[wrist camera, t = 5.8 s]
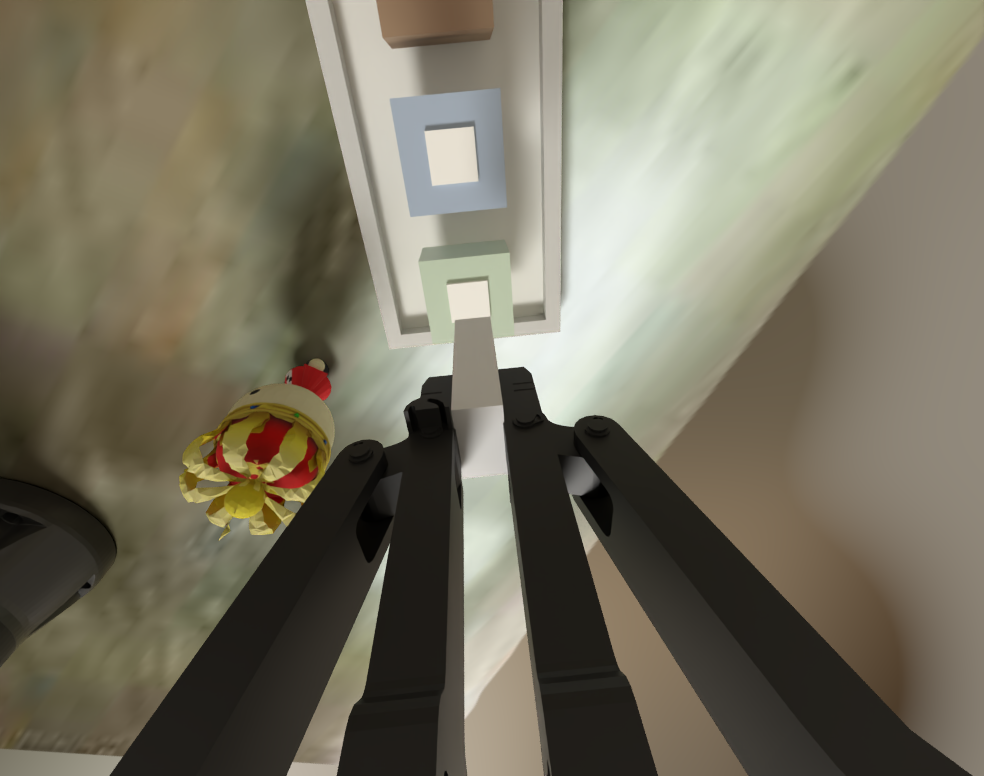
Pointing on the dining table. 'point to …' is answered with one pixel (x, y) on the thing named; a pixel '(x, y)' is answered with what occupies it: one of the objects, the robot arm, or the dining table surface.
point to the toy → (265, 452)
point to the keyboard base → (377, 168)
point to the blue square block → (451, 151)
